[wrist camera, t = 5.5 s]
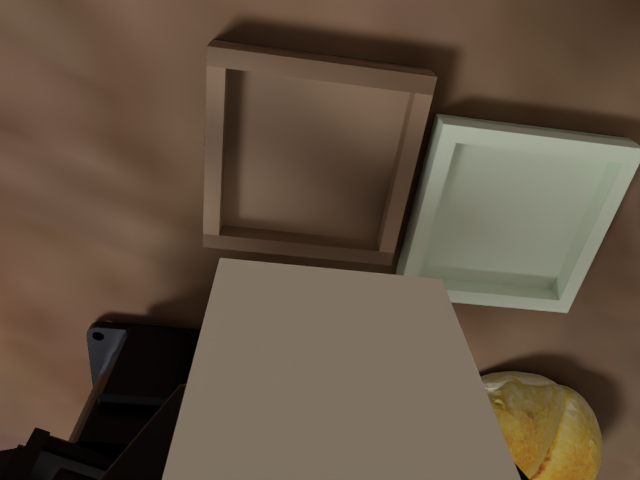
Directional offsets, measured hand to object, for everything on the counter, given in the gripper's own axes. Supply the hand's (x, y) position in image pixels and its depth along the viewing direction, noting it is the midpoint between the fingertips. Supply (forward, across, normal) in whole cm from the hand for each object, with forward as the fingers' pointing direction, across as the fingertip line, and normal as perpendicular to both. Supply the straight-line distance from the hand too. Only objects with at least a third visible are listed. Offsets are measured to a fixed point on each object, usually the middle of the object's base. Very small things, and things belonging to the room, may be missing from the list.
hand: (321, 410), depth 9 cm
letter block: (+1, 0, 0) cm, 1 cm away
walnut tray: (+12, 0, 0) cm, 12 cm away
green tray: (+12, -8, +2) cm, 14 cm away
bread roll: (+12, -12, +14) cm, 22 cm away
